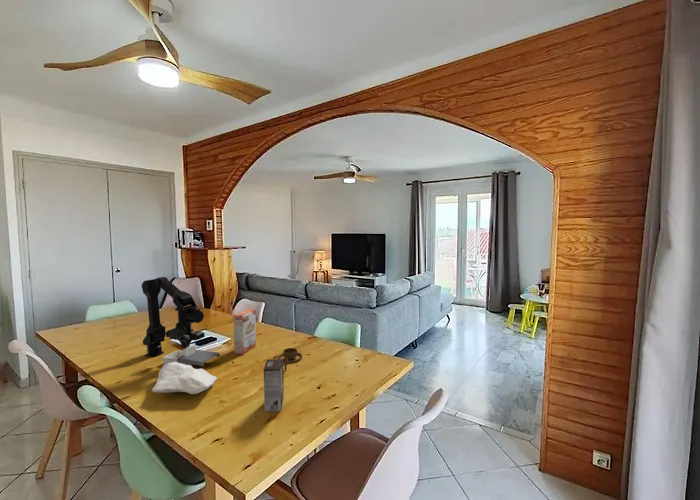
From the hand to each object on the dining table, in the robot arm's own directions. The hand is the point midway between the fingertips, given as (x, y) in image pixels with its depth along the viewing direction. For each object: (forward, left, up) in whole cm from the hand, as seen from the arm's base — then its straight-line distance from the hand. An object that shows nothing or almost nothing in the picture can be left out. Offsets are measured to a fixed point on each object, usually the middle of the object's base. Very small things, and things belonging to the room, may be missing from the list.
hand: (185, 351), depth 167 cm
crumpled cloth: (+19, -22, -6) cm, 29 cm away
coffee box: (+62, -22, -6) cm, 66 cm away
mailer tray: (-2, 0, -6) cm, 6 cm away
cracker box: (+18, +24, -6) cm, 30 cm away
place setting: (+46, +16, -7) cm, 49 cm away
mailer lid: (+8, 0, -3) cm, 8 cm away
